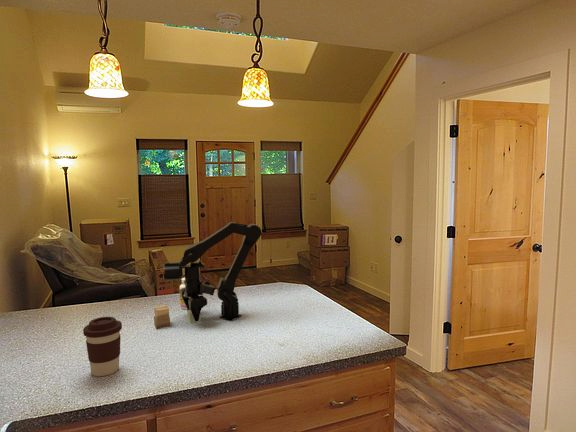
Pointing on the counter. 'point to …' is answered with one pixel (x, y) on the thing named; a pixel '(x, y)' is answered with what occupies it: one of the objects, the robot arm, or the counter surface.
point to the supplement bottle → (181, 296)
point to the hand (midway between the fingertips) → (194, 317)
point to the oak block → (161, 312)
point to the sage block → (191, 317)
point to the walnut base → (161, 323)
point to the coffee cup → (103, 345)
